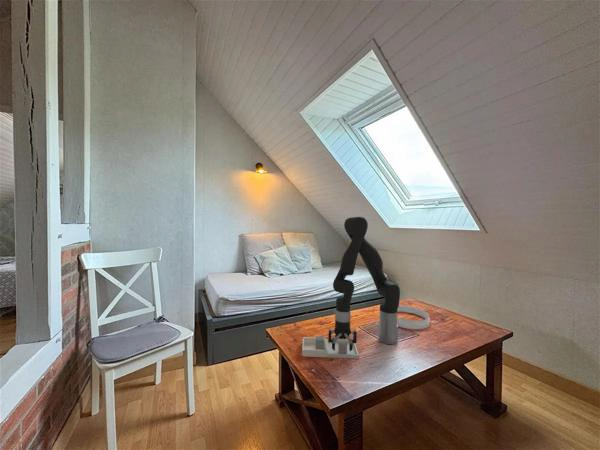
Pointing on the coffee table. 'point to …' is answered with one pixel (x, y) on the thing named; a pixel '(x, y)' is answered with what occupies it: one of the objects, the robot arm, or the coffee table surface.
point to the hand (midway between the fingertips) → (342, 350)
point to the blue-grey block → (319, 343)
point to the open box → (313, 348)
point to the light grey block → (342, 347)
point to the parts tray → (350, 354)
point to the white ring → (409, 323)
